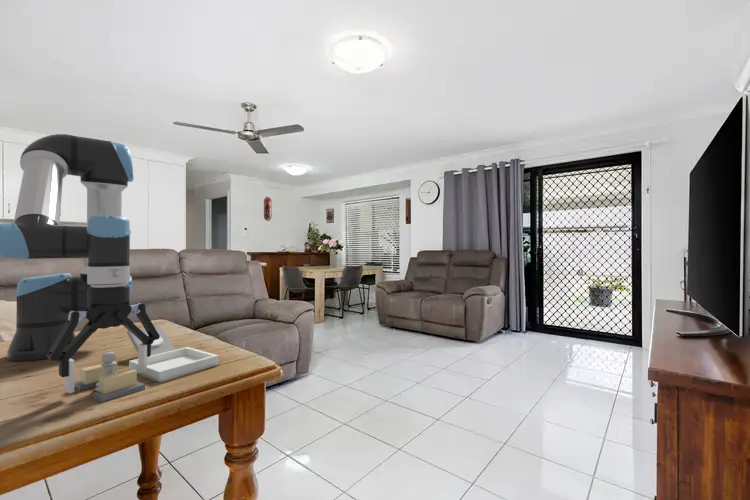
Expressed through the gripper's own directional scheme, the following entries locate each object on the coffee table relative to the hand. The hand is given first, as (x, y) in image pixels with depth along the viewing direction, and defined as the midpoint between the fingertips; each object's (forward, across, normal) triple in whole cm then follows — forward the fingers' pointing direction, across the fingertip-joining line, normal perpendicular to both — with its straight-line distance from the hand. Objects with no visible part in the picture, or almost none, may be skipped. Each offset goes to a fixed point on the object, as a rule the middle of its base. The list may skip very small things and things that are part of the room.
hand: (108, 380), depth 77 cm
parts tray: (+2, +15, +1) cm, 15 cm away
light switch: (+2, +16, +16) cm, 23 cm away
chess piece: (+2, 0, 0) cm, 2 cm away
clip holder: (+2, 0, 0) cm, 2 cm away
